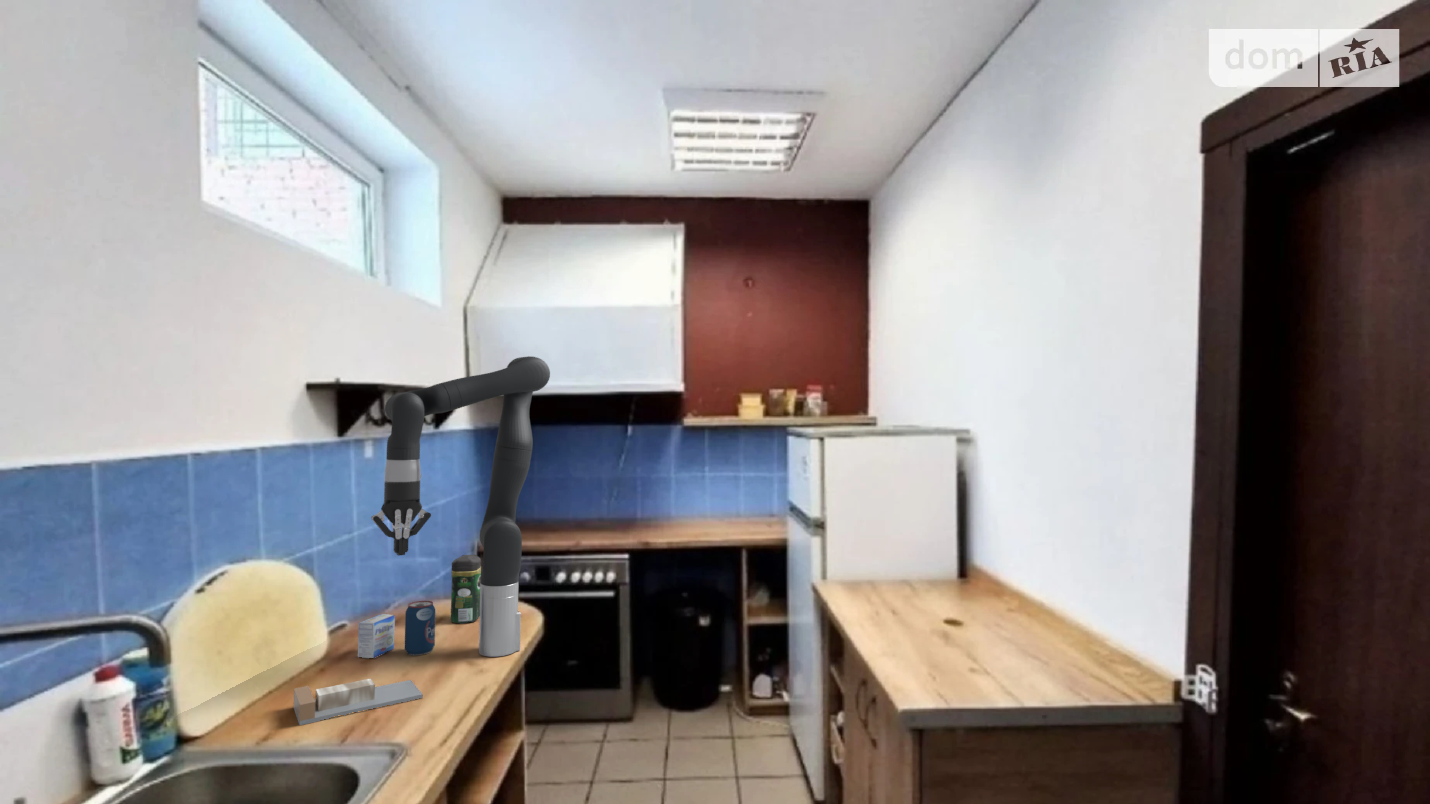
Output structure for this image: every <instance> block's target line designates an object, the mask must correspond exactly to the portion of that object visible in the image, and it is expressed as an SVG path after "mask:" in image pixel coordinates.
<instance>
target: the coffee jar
mask: <svg viewBox="0 0 1430 804" xmlns="http://www.w3.org/2000/svg"><path fill="white" fill-rule="evenodd" d="M481 563H482V560H481V557H480V556H478V555H477V554H462V555H461V556H459V557H457V558H455V559H454V560H453V561H452V562H451V590H450V591H451V592H450V593H451V597H450V598H451V600H450V601H451V603H450V622H451V623H454V624H459V625H460V624H461V625H462V624H463V625H464V624H467V623H475V622H476V621H477V620H479V619H480V579H481V572H482V564H481Z"/></svg>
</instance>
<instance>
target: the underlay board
mask: <svg viewBox="0 0 1430 804" xmlns="http://www.w3.org/2000/svg"><path fill="white" fill-rule="evenodd" d="M423 695H424V694H423V692H422V691H420V689H419V688H418V687H417V685H416V684H415V683H414V682H413V680H412V679H407V680H402V681H398V682H393V683H388V684H383V685H379V686H375V699H373V700H369V701H364V702H359V703H355V704H350V705H346V706H341V707H336V708H332V709H327V710H323V711H318V709H317V707H316V705H315V699H316V698H315V697H314V695H313V693H312V690H311V688H310V686H309V685H305V686H299V687H295V688H293V710H294V712H295V716H296V719H297V723H298V725H299V726H303V725H308V724H311V723H317V722H321V721H320V720H322V721H325V720H324V719H326V720H330V719H329V718H331V717H334V716H338V715H344V716H347V715H346V714H349V713H352V712H358V711H363V710H367V709H372V710H374V709H373V708H376V709H378V708H377V707H381V708H383V707H382V706H385V707H387V706H386V705H390V706H394V705H397V704H396V703H399V704H402V703H401V702H403V703H407V701H408V702H411V701H410V700H412V701H415V699H417V700H420V699H419V698H421V699H423V698H424V696H423ZM393 704H394V705H393ZM367 711H368V710H367ZM363 712H364V711H363ZM358 713H359V712H358ZM349 715H350V714H349ZM331 719H332V718H331Z"/></svg>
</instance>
